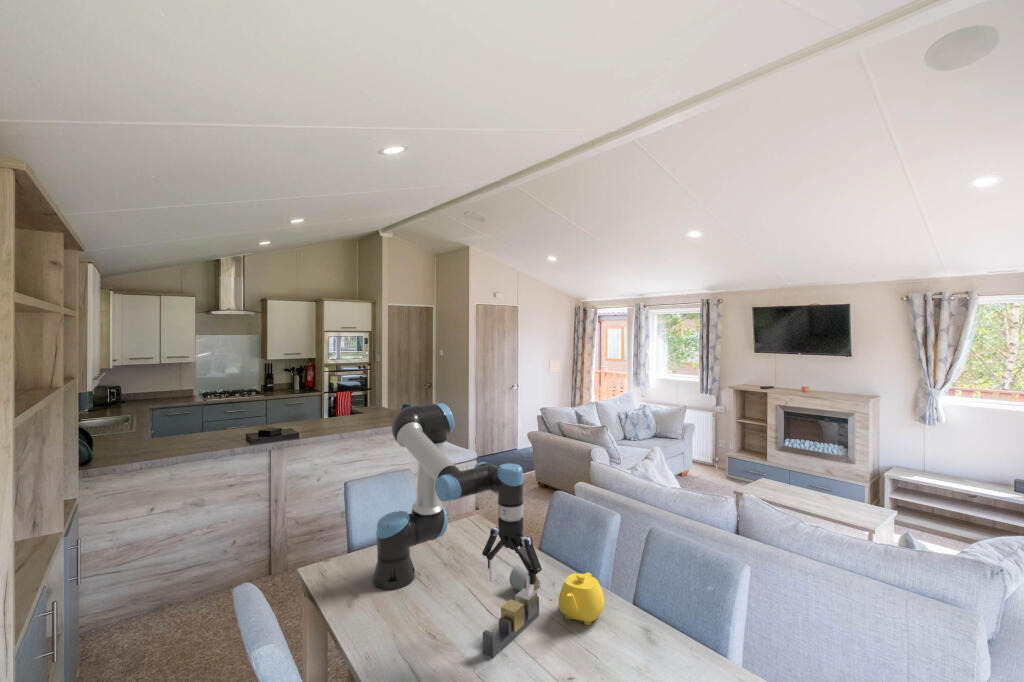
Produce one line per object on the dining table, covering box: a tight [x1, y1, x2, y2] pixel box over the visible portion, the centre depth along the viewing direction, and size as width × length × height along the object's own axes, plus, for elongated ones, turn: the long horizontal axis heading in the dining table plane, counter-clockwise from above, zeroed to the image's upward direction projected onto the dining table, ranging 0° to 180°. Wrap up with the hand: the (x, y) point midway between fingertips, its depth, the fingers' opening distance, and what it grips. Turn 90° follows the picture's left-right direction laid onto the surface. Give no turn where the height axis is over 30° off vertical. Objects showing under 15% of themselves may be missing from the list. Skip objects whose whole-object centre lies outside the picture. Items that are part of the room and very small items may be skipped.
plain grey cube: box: [514, 588, 538, 619], centre depth 149 cm, size 5×5×6 cm
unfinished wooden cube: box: [500, 598, 524, 632], centre depth 143 cm, size 5×5×6 cm
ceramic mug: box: [509, 564, 542, 592], centre depth 168 cm, size 11×8×8 cm
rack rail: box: [482, 595, 540, 659], centre depth 143 cm, size 4×24×6 cm, turn 144°
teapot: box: [557, 572, 605, 626], centre depth 151 cm, size 14×20×13 cm
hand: (511, 586), depth 143 cm, fingers open, 13 cm apart
